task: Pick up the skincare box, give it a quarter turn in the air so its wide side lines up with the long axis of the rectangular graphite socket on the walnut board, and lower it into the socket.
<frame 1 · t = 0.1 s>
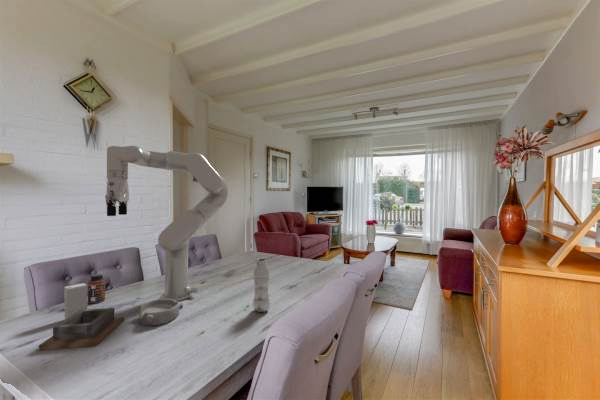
hand: (117, 215, 115), 37 cm above the table, tool pointing down, fingers open, 9 cm apart
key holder: (86, 333, 87), on the table
dish: (160, 318, 99), on the table
plastic bottle: (261, 311, 105), on the table
supplement bottle: (96, 301, 114), on the table
skincare box: (75, 319, 98), on the table
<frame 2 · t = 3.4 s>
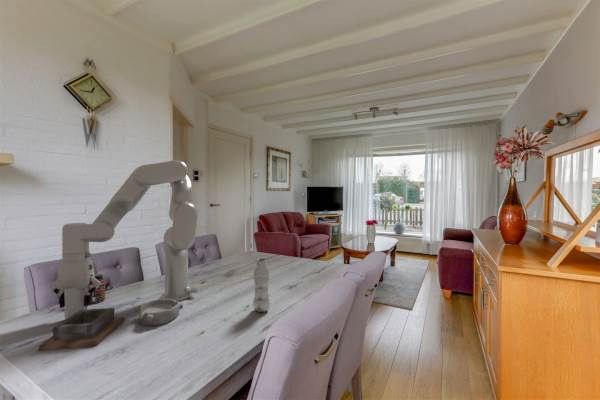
hand: (75, 305, 98), 5 cm above the table, tool pointing down, fingers closed on skincare box, 7 cm apart
skincare box: (75, 319, 98), on the table, touching gripper
everything else where it was.
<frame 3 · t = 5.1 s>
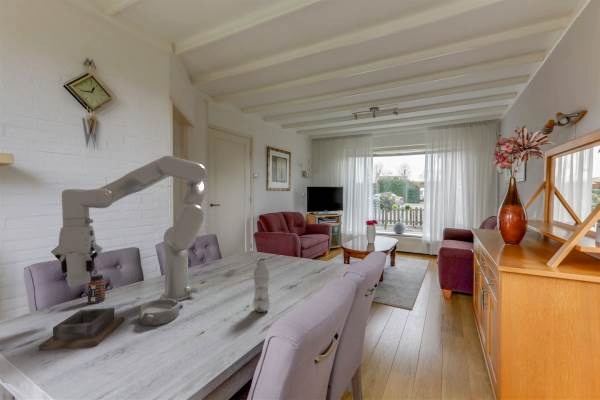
hand: (78, 270, 98), 17 cm above the table, tool pointing down, fingers closed on skincare box, 7 cm apart
skincare box: (78, 284, 98), point 12 cm above the table, touching gripper
everything else where it was.
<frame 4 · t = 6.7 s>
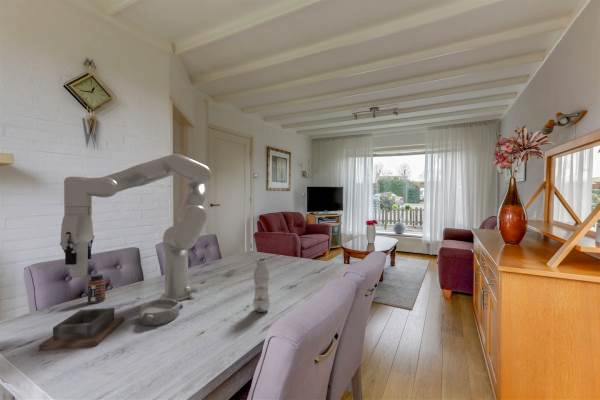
hand: (78, 261, 95), 22 cm above the table, tool pointing down, fingers closed on skincare box, 7 cm apart
skincare box: (78, 275, 95), point 16 cm above the table, touching gripper
everything else where it was.
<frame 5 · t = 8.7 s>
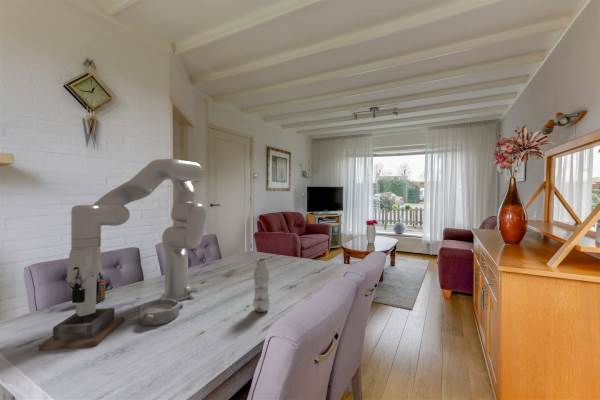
hand: (86, 297, 87), 12 cm above the table, tool pointing down, fingers closed on skincare box, 7 cm apart
skincare box: (86, 312, 87), point 7 cm above the table, touching gripper
everything else where it was.
when the fingers open (7 cm above the table, at t = 10.1 s): skincare box stays where it is, resting on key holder.
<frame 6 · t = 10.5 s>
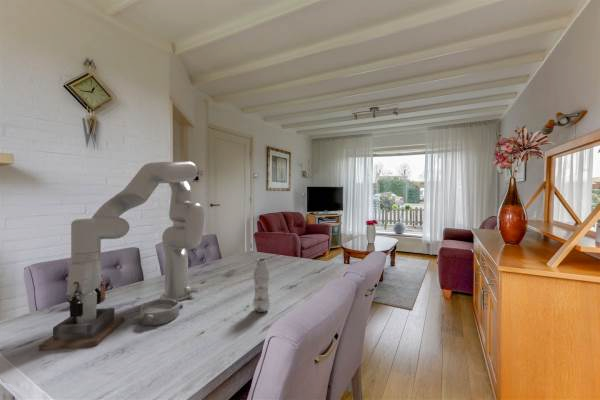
hand: (86, 309, 87), 8 cm above the table, tool pointing down, fingers open, 9 cm apart
skincare box: (86, 329, 87), point 1 cm above the table, touching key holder
everything else where it was.
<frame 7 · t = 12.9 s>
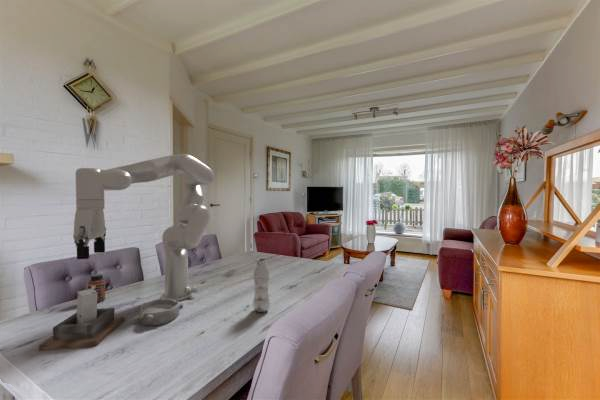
hand: (91, 255, 91), 25 cm above the table, tool pointing down, fingers open, 9 cm apart
nothing on the table moved.
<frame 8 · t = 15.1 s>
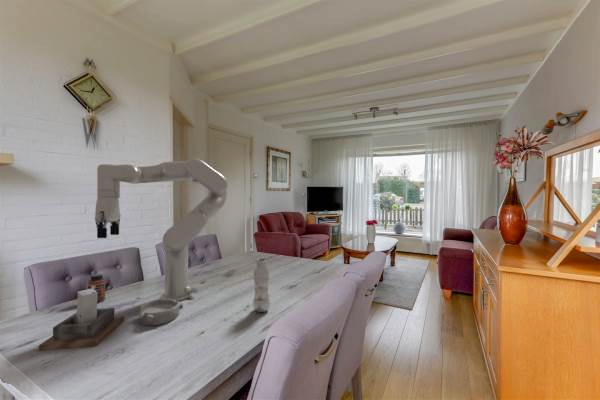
hand: (108, 236, 110), 28 cm above the table, tool pointing down, fingers open, 9 cm apart
nothing on the table moved.
at the end: skincare box 0.2 cm off-centre on the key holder, point 1.3 cm above the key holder's base; skincare box tilted 0°; the gripper is holding nothing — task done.
